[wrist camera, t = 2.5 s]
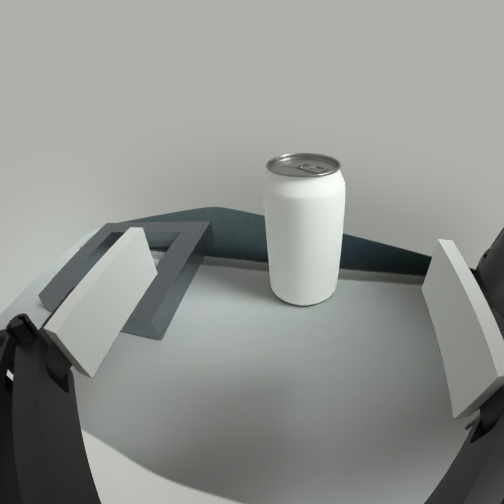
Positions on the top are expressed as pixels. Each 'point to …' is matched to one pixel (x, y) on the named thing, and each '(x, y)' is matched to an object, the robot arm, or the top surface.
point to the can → (304, 226)
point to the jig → (169, 269)
